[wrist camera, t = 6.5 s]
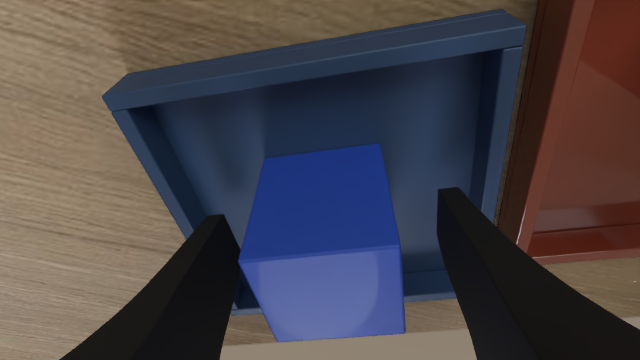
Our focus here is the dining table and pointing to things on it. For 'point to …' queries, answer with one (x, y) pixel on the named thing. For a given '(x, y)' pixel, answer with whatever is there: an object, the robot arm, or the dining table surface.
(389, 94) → the blue tray
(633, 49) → the terracotta tray
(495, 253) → the robot arm
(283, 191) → the blue block
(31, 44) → the dining table surface
